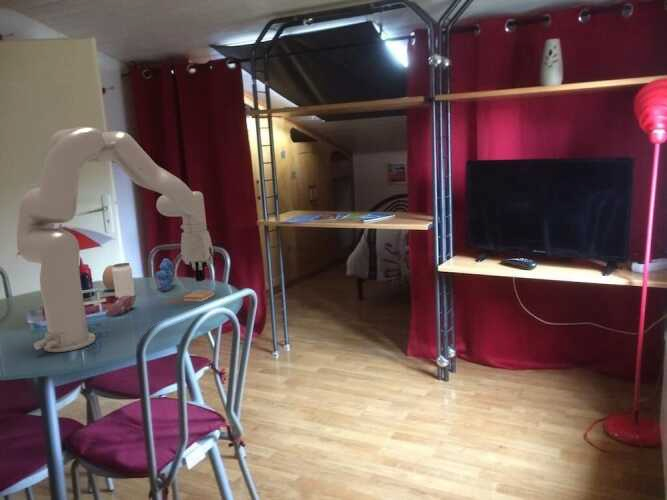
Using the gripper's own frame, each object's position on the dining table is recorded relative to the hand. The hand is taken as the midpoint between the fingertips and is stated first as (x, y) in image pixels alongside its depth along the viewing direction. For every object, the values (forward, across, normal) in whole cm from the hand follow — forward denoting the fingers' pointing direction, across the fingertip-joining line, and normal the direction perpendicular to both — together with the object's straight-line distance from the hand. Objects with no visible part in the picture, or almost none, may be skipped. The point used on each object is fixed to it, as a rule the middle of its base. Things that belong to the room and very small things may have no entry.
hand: (200, 280), depth 180 cm
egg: (+6, -42, +5) cm, 43 cm away
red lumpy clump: (+6, -17, -20) cm, 27 cm away
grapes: (+6, -20, +7) cm, 22 cm away
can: (+6, -30, -3) cm, 31 cm away
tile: (+5, -3, -2) cm, 6 cm away
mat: (+6, -4, -3) cm, 8 cm away
